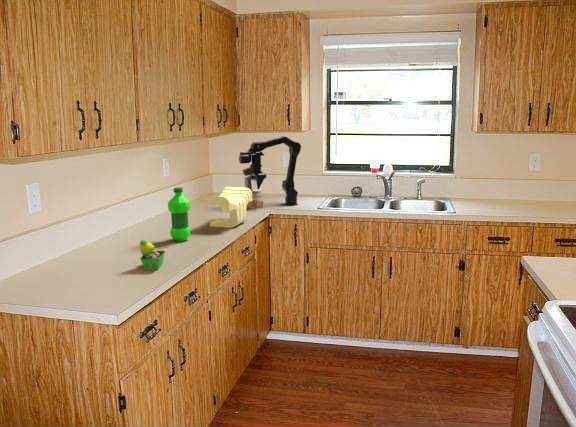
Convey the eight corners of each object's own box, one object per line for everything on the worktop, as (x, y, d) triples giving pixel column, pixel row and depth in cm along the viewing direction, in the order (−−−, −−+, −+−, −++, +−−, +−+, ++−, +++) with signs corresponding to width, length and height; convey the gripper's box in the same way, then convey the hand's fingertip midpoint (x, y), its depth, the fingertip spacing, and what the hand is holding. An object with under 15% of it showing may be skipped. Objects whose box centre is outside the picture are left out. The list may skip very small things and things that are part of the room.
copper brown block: (257, 204, 337) (257, 198, 337) (263, 207, 328) (263, 201, 328) (242, 206, 333) (242, 200, 333) (248, 209, 324) (247, 202, 324)
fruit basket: (160, 271, 207) (158, 243, 205) (137, 271, 207) (135, 243, 205) (166, 262, 218) (164, 235, 216) (144, 262, 218) (142, 236, 216)
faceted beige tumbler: (262, 189, 332) (262, 178, 331) (262, 191, 325) (261, 180, 324) (251, 189, 332) (250, 178, 330) (250, 191, 325) (250, 180, 324)
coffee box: (261, 201, 350) (261, 176, 347) (256, 202, 345) (255, 178, 341) (250, 200, 355) (250, 176, 351) (244, 201, 349) (244, 177, 346)
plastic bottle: (195, 238, 257) (193, 186, 252) (183, 243, 247) (181, 190, 242) (177, 236, 260) (175, 185, 255) (165, 241, 251) (162, 189, 246)
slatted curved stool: (230, 231, 269) (229, 197, 265) (202, 229, 273) (200, 195, 270) (252, 219, 296) (252, 187, 293) (226, 217, 301) (225, 186, 298)
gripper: (238, 162, 330) (239, 186, 333) (249, 165, 313) (249, 191, 317) (255, 161, 335) (255, 185, 338) (266, 164, 318) (266, 190, 321)
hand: (256, 188), depth 328 cm, fingers closed on faceted beige tumbler, 6 cm apart
